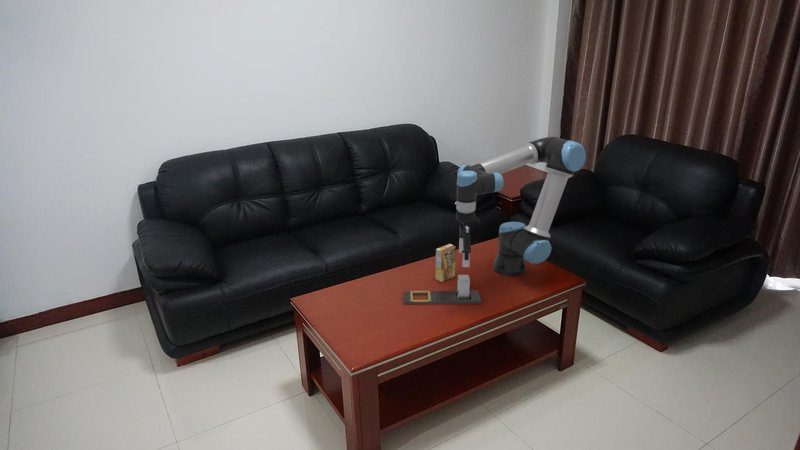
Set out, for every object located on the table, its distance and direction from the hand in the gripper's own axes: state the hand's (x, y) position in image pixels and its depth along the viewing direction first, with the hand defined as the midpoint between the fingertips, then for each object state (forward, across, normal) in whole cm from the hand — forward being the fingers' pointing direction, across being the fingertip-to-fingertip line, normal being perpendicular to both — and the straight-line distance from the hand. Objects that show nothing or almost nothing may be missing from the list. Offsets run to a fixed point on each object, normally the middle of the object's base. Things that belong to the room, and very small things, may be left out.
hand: (463, 259), depth 202 cm
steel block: (+18, 0, 0) cm, 18 cm away
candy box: (+18, -19, -6) cm, 27 cm away
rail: (+18, 0, -9) cm, 20 cm away
